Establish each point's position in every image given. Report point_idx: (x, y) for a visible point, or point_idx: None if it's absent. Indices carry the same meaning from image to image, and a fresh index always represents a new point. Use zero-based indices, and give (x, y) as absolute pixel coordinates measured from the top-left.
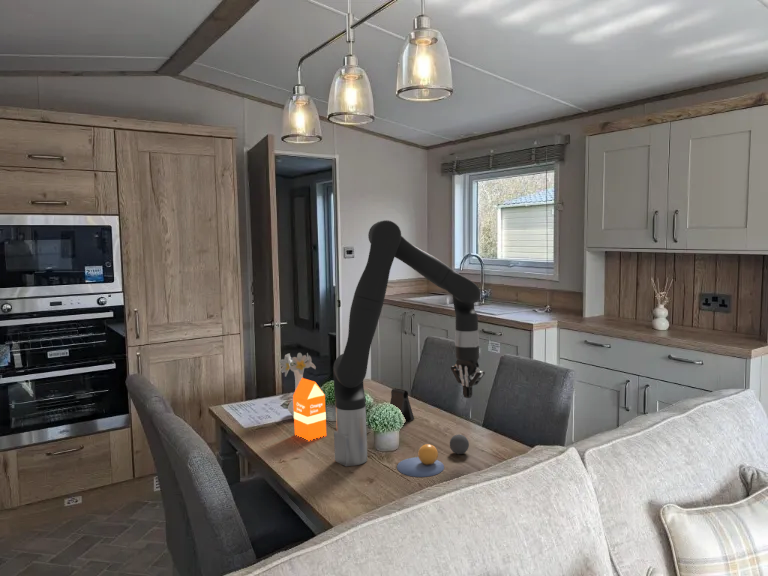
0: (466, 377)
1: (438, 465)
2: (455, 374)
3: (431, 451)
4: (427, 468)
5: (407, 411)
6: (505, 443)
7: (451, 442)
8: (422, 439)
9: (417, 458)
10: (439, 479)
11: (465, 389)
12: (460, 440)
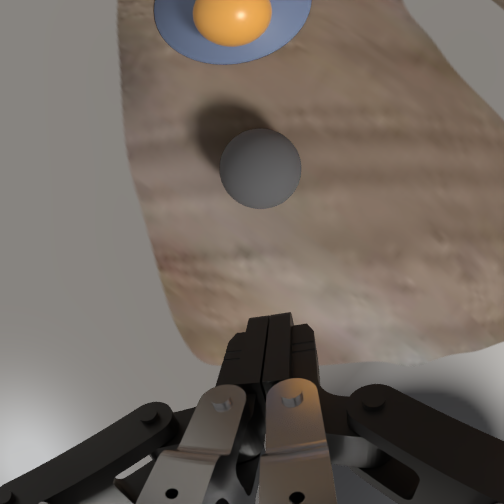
0: (172, 477)
1: (203, 44)
2: (463, 453)
3: (195, 5)
4: None
5: None
6: None
7: (260, 130)
8: (448, 137)
9: (295, 13)
10: (126, 17)
11: (259, 362)
12: (228, 158)
